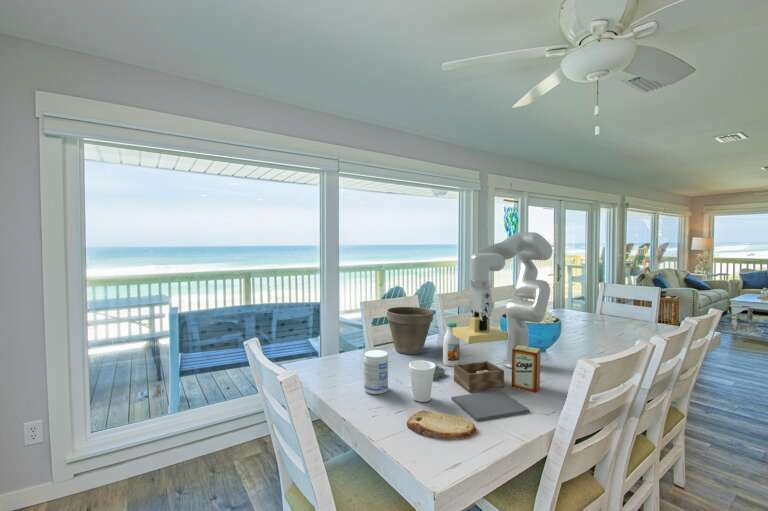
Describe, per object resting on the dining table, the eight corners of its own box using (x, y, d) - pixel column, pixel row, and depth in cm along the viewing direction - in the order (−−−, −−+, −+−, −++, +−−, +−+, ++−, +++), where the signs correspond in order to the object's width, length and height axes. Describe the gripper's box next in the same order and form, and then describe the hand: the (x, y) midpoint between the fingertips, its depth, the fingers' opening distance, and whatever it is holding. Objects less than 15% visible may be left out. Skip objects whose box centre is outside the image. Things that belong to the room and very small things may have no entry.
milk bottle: (441, 365, 172) (441, 323, 171) (444, 360, 179) (445, 320, 178) (457, 367, 169) (458, 325, 168) (460, 362, 176) (461, 321, 175)
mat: (499, 392, 142) (499, 389, 142) (529, 412, 126) (529, 409, 126) (451, 399, 136) (451, 396, 135) (476, 421, 119) (476, 418, 119)
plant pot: (434, 345, 204) (435, 307, 204) (430, 359, 180) (430, 316, 180) (391, 342, 210) (391, 305, 209) (381, 355, 186) (381, 313, 185)
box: (486, 376, 158) (486, 361, 158) (503, 387, 147) (504, 370, 146) (453, 381, 153) (454, 364, 153) (468, 392, 142) (469, 374, 141)
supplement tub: (383, 396, 138) (383, 358, 137) (360, 393, 140) (360, 355, 140) (390, 386, 147) (391, 351, 146) (368, 383, 150) (369, 348, 149)
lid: (488, 331, 158) (488, 313, 158) (507, 339, 146) (508, 320, 145) (452, 334, 153) (452, 315, 153) (469, 343, 140) (469, 323, 140)
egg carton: (428, 381, 153) (428, 372, 153) (417, 376, 159) (417, 367, 159) (447, 376, 159) (447, 367, 159) (435, 371, 165) (435, 362, 165)
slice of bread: (481, 432, 113) (482, 421, 113) (438, 451, 103) (438, 438, 103) (442, 410, 128) (442, 399, 128) (401, 424, 118) (401, 412, 118)
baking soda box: (539, 386, 148) (540, 348, 147) (536, 392, 142) (537, 352, 142) (515, 381, 153) (516, 344, 152) (511, 386, 148) (512, 348, 147)
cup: (428, 407, 129) (428, 371, 128) (403, 401, 134) (403, 366, 133) (439, 397, 137) (440, 363, 137) (416, 391, 143) (416, 358, 142)
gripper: (500, 286, 141) (500, 333, 142) (476, 281, 157) (476, 323, 158) (483, 287, 139) (483, 334, 140) (461, 282, 155) (461, 324, 156)
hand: (479, 328), depth 149 cm, fingers closed on lid, 4 cm apart
